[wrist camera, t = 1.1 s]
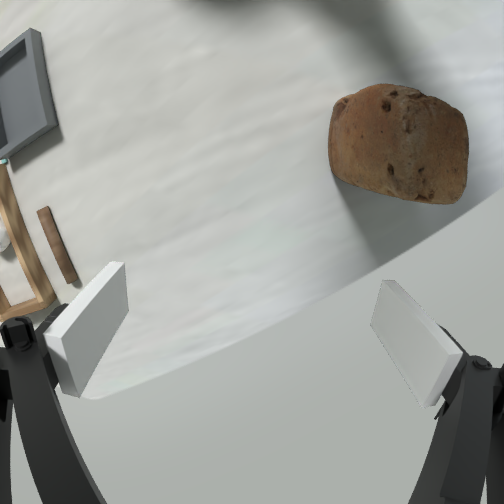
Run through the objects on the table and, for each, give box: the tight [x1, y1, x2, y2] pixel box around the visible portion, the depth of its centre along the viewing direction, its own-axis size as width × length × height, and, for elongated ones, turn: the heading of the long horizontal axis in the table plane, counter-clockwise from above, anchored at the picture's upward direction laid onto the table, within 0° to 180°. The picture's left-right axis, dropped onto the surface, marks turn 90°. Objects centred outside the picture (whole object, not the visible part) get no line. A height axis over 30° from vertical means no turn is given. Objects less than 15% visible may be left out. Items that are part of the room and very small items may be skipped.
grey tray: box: [0, 28, 58, 160], centre depth 30 cm, size 17×11×3 cm, turn 17°
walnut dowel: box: [37, 206, 78, 284], centre depth 40 cm, size 12×2×2 cm, turn 17°
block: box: [328, 84, 469, 204], centre depth 28 cm, size 11×8×20 cm
